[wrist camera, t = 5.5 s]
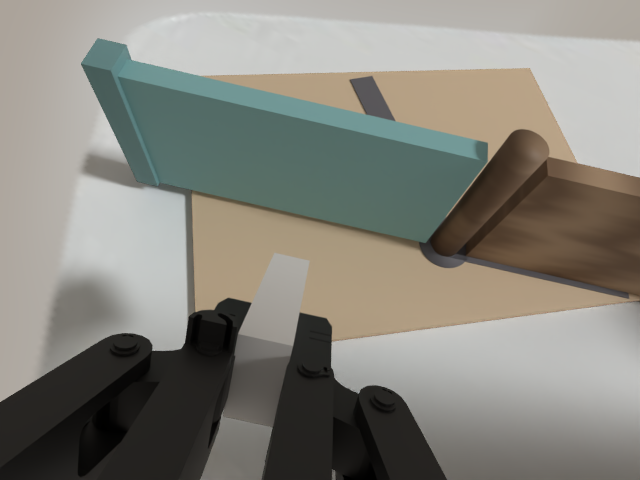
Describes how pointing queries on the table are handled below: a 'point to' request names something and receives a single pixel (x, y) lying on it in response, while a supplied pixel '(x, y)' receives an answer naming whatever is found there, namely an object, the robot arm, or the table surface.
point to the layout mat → (382, 249)
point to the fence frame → (549, 217)
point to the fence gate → (280, 148)
